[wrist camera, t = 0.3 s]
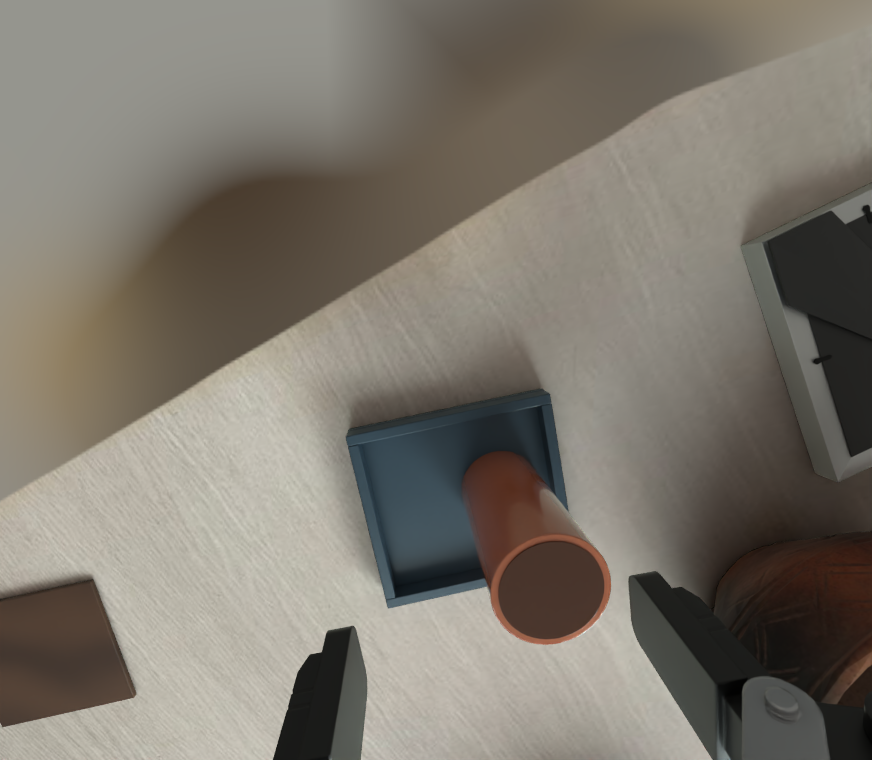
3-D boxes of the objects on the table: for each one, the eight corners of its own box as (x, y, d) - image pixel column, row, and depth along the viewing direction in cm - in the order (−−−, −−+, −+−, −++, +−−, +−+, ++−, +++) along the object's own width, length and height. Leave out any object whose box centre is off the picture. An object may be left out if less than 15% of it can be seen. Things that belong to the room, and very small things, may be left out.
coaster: (-45, 609, 35) (-50, 612, 35) (93, 579, 36) (89, 582, 35) (6, 723, 37) (2, 727, 37) (136, 693, 38) (133, 697, 37)
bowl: (779, 764, 43) (975, 1006, 28) (589, 640, 40) (700, 843, 25) (962, 571, 41) (1280, 724, 26) (778, 419, 37) (1026, 496, 22)
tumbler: (454, 459, 35) (480, 549, 22) (532, 443, 35) (603, 522, 23) (468, 532, 36) (502, 657, 24) (544, 516, 37) (619, 631, 24)
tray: (348, 428, 35) (345, 436, 33) (541, 388, 35) (550, 393, 33) (388, 592, 38) (387, 608, 35) (568, 552, 38) (577, 566, 36)
